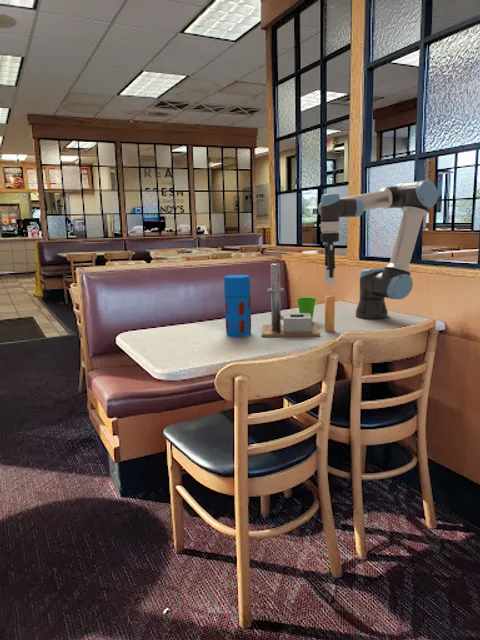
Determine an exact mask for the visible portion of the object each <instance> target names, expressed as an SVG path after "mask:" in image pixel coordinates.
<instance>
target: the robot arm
mask: <svg viewBox="0 0 480 640" xmlns="http://www.w3.org/2000/svg"><path fill="white" fill-rule="evenodd" d="M438 196H439V192H438V189H437V186H436V185H435V183H433V182H432V181H430V180H418V181H417V180H415V181H408V182H407V181H405V182H402V183H397V184H394V185H391V186H387V187H382V188H381V189H380V190H378V191H377V190H376V191H371V192H367V193H361V194H356V195H350V196H345V197H340V194H339V193H324V194H322V195H321V197H320V203H319V204H318V207H317V209H318V210H317V211H318V215H320V224H319V225H318V226H319V227H320V232H321V233H320V242H321V243H325V245H324V282H327V286H329V287H330V286H331V287H333V286H335V269H336V259H335V258H336V257H335V256H336V254H335V249H336V246H335V244H334V243H336V242H337V243H339V241H340V233H339V232H340V218H356V217H357V218H358V217H361V216H362V215H363V213H364V211H371V210H375V209H379V208H380V209H381V208H383V209H394V208H395V209H401V210H402V212H403V213H402V217H401V221H400V225H399V229H398V232H397V235H396V238H395V242H394V246H393V249H392V253H391V255H390V256H391V257H390V260H389V263H388V264H387V265H385V266H384V267H383V268H369V269H362V270H361V271H360V273H359V275H360V276H359V302H358V304H357V307H356V309H355V317H357V318H359V319H365V320H366V319H369V320H377V319H378V320H380V319H386V318H388V316H389V315H388V314H389V312H388V309H387V305H386V302H385V298H386V299H391V300H403V299H405V298H407V297H408V296H409V294H411V292H412V289H413V288H414V287H413V286H414V282H413V278H412V277H411V271H410V269H409V266H410V263H411V261H412V257H413V253H414V250H415V247H416V244H417V243H416V242H417V240H418V239H417V238H418V237H419V236H418V235H419V231H420V228H421V225H422V221H423V217H425V216H426V215H428V213H429V209H431V208H432V207H434V206H435V205H436V204H437V203H438Z"/></svg>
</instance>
